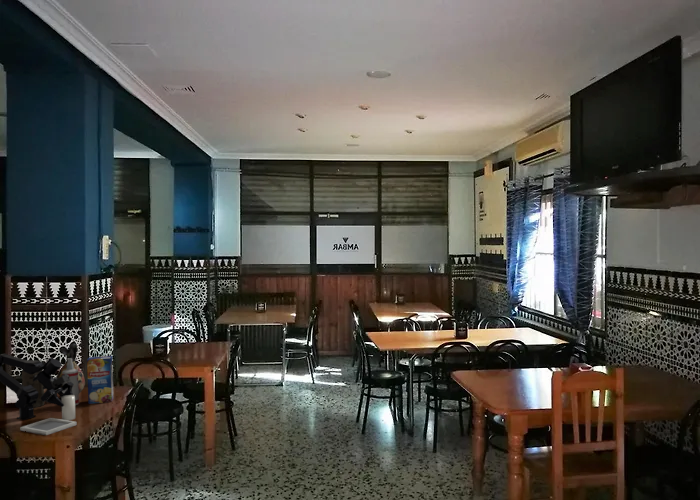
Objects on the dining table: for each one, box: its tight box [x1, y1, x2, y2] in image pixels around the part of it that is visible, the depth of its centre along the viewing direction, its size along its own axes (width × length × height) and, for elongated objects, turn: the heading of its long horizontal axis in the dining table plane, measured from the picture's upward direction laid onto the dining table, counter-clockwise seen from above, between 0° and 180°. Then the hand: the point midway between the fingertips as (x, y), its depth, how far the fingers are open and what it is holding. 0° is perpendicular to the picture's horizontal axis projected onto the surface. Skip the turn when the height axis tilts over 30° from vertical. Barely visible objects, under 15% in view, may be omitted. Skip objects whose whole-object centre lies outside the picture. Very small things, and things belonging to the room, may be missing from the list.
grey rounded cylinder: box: [60, 395, 76, 421], centre depth 293 cm, size 6×6×11 cm
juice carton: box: [86, 355, 114, 405], centre depth 325 cm, size 12×8×24 cm, turn 105°
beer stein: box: [21, 370, 45, 409], centre depth 319 cm, size 15×11×20 cm
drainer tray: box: [19, 417, 77, 436], centre depth 279 cm, size 18×16×2 cm
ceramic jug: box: [55, 343, 86, 400], centre depth 335 cm, size 17×15×30 cm
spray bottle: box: [62, 358, 80, 406], centre depth 319 cm, size 8×8×25 cm
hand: (69, 403), depth 293 cm, fingers open, 9 cm apart
